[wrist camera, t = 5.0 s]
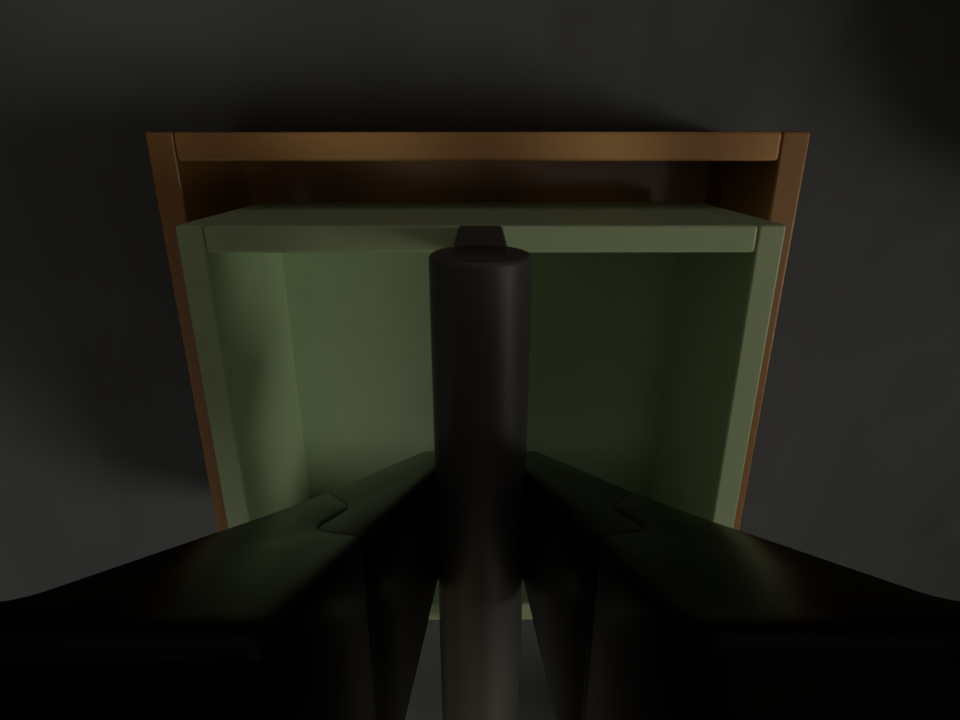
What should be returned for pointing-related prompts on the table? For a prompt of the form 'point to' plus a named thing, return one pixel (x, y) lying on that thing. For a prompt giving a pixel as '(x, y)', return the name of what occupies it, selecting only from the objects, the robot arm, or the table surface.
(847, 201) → the table surface
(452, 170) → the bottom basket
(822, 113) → the table surface
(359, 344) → the top basket
